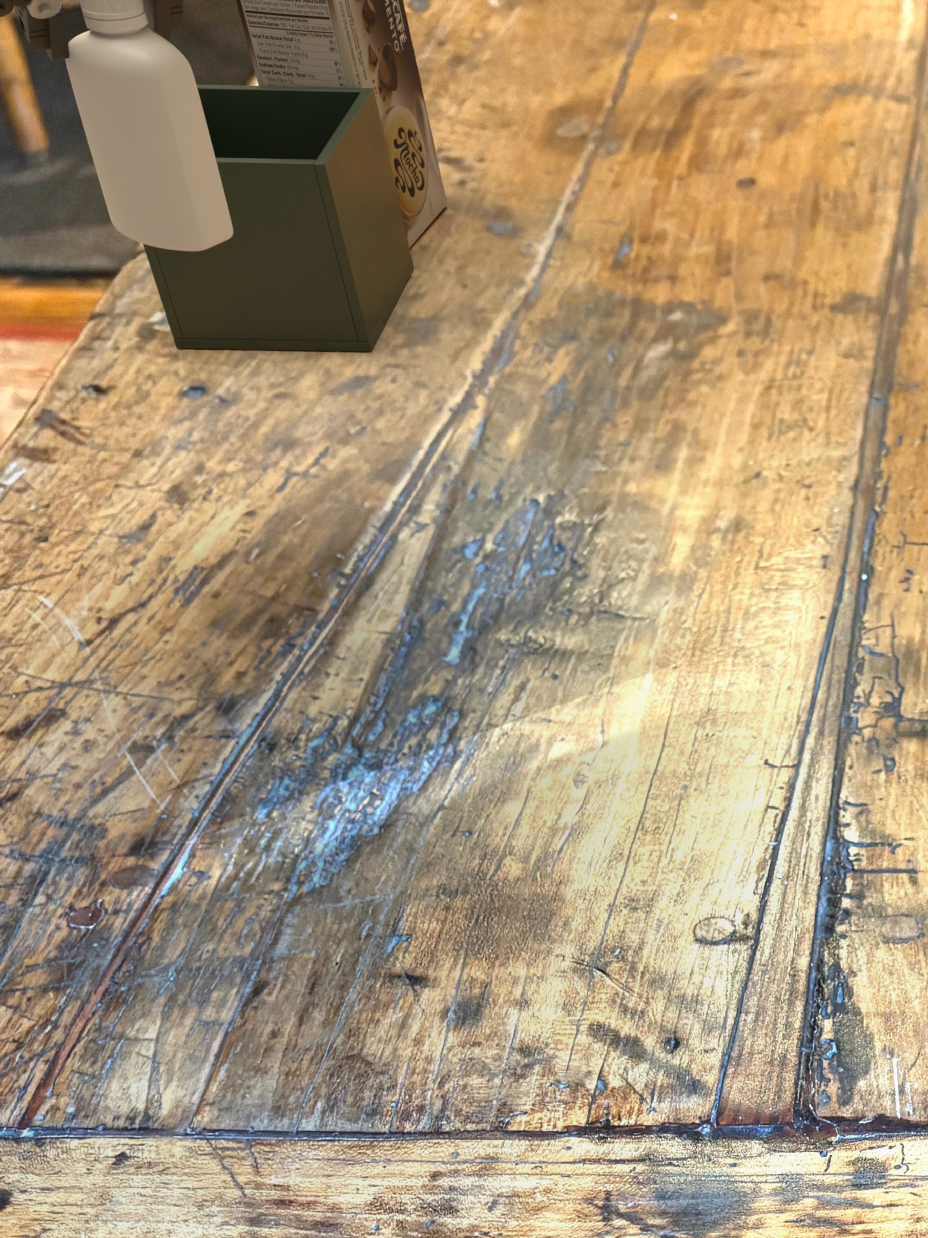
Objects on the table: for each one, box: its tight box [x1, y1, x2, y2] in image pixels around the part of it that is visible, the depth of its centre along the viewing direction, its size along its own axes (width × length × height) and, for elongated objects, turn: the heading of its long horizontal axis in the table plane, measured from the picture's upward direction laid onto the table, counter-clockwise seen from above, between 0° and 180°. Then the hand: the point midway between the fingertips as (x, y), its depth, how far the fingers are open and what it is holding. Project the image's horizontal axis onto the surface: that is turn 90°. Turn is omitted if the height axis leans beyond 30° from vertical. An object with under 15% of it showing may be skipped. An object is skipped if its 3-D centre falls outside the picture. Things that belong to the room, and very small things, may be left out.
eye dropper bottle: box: [64, 0, 233, 251], centre depth 85 cm, size 4×6×12 cm
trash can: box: [142, 83, 415, 353], centre depth 115 cm, size 11×11×11 cm
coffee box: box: [235, 0, 448, 249], centre depth 120 cm, size 9×6×16 cm
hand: (100, 29), depth 85 cm, fingers closed on eye dropper bottle, 3 cm apart
